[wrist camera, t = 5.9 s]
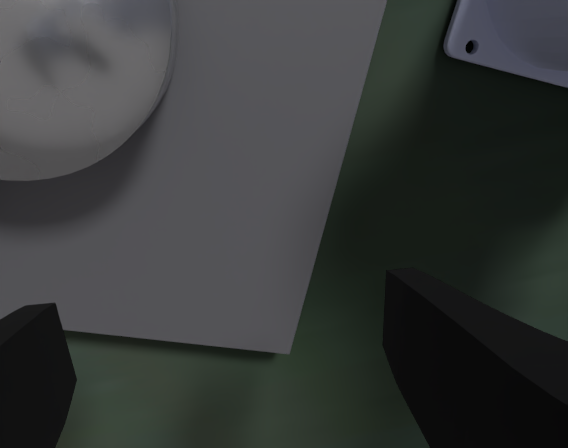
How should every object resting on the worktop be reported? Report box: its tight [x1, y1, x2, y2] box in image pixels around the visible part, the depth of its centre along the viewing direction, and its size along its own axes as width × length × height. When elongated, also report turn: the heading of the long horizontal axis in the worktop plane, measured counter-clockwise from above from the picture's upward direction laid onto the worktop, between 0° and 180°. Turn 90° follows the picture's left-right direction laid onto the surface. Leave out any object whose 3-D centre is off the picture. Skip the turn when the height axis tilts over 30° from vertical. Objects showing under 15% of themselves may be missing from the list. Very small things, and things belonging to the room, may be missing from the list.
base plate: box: [0, 0, 387, 354], centre depth 15 cm, size 22×23×2 cm
